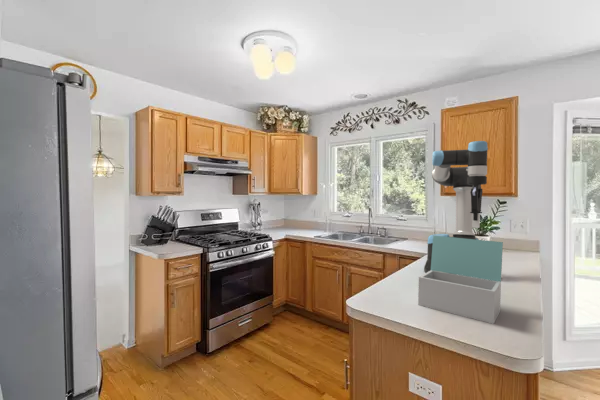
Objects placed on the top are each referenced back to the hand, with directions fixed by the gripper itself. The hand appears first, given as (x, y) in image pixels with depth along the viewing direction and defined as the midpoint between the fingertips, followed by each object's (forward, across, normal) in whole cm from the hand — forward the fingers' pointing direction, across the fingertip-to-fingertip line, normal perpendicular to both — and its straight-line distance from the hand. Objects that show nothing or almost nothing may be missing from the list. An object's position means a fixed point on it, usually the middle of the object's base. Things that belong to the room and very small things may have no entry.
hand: (475, 227), depth 133 cm
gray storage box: (+32, +18, -2) cm, 37 cm away
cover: (+12, +9, -2) cm, 16 cm away
